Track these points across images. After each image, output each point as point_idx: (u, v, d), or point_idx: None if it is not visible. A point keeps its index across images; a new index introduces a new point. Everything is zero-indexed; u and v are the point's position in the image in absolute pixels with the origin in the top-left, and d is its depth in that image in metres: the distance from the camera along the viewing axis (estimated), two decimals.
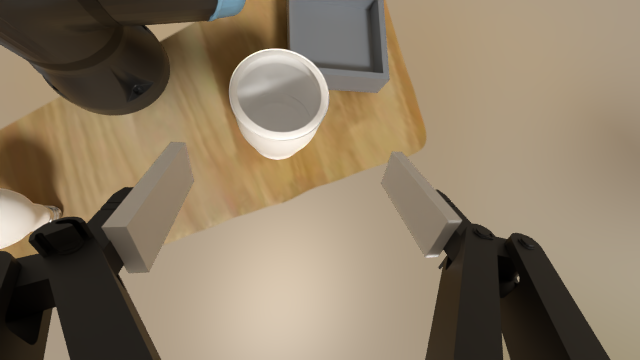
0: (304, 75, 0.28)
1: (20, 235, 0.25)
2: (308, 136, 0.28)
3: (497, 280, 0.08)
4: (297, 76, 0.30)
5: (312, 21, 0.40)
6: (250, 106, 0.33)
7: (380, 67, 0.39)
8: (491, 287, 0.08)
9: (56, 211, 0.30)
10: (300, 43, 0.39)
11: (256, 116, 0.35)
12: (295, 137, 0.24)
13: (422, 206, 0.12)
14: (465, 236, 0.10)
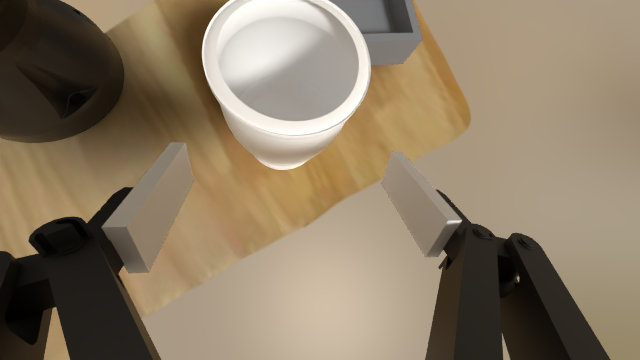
0: (318, 33, 0.18)
1: None
2: (340, 125, 0.18)
3: (497, 280, 0.08)
4: (305, 40, 0.20)
5: None
6: (242, 99, 0.23)
7: (406, 26, 0.29)
8: (491, 287, 0.08)
9: None
10: None
11: None
12: (328, 126, 0.14)
13: (422, 206, 0.12)
14: (465, 236, 0.10)
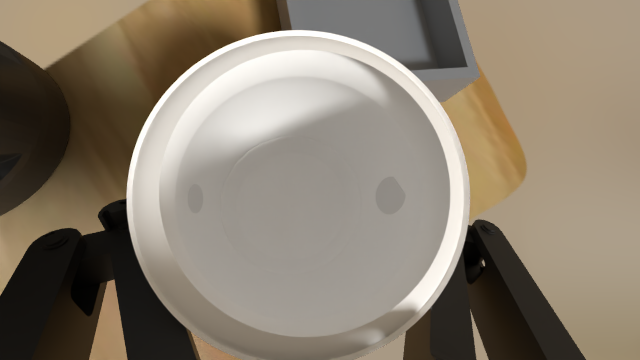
0: (357, 98, 0.11)
1: None
2: (395, 260, 0.10)
3: (463, 263, 0.09)
4: (331, 102, 0.12)
5: None
6: (231, 174, 0.16)
7: (455, 57, 0.22)
8: (458, 271, 0.09)
9: None
10: None
11: (247, 186, 0.18)
12: (397, 327, 0.07)
13: (394, 195, 0.13)
14: None
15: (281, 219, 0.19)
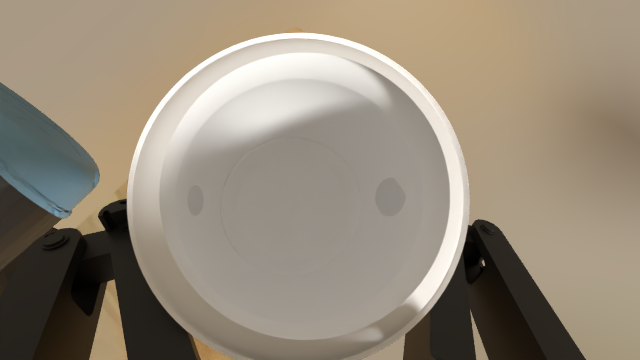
0: (357, 100, 0.11)
1: None
2: (395, 262, 0.10)
3: (463, 263, 0.09)
4: (331, 103, 0.12)
5: None
6: (232, 175, 0.16)
7: None
8: (458, 271, 0.09)
9: None
10: None
11: (247, 188, 0.18)
12: (397, 330, 0.07)
13: (394, 195, 0.13)
14: None
15: (281, 220, 0.19)
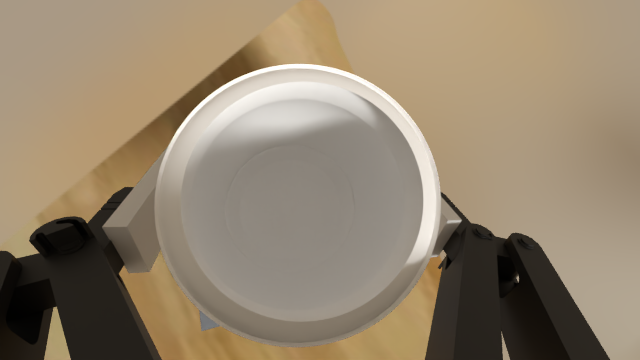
0: (348, 116, 0.12)
1: None
2: (381, 259, 0.12)
3: (497, 280, 0.08)
4: (326, 117, 0.14)
5: None
6: (235, 180, 0.17)
7: None
8: (491, 287, 0.08)
9: None
10: None
11: (249, 191, 0.19)
12: (376, 315, 0.08)
13: None
14: (465, 236, 0.10)
15: (280, 221, 0.20)
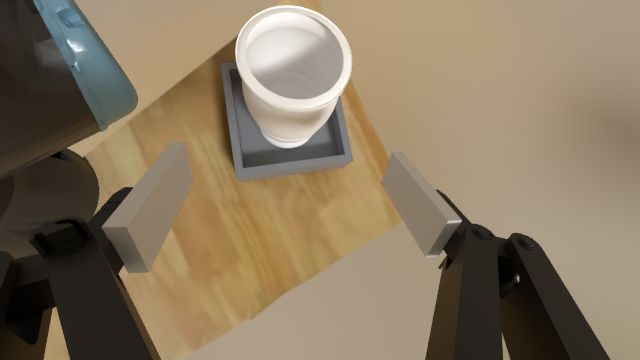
0: (316, 39, 0.25)
1: None
2: (331, 106, 0.24)
3: (497, 280, 0.08)
4: (306, 44, 0.26)
5: None
6: None
7: (341, 145, 0.34)
8: (491, 287, 0.08)
9: None
10: (246, 131, 0.34)
11: None
12: (320, 104, 0.21)
13: (422, 206, 0.12)
14: (465, 236, 0.10)
15: None
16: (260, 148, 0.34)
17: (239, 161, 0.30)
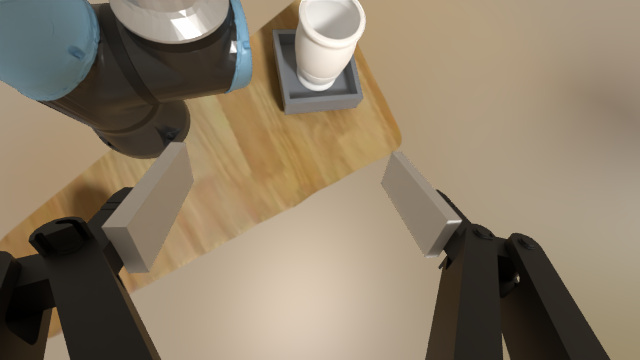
0: (342, 8, 0.39)
1: None
2: (351, 50, 0.39)
3: (497, 280, 0.08)
4: (334, 12, 0.41)
5: (295, 60, 0.49)
6: None
7: (354, 88, 0.49)
8: (491, 287, 0.08)
9: None
10: (288, 79, 0.48)
11: None
12: (348, 43, 0.35)
13: (422, 206, 0.12)
14: (465, 236, 0.10)
15: None
16: (298, 90, 0.48)
17: (287, 94, 0.45)
